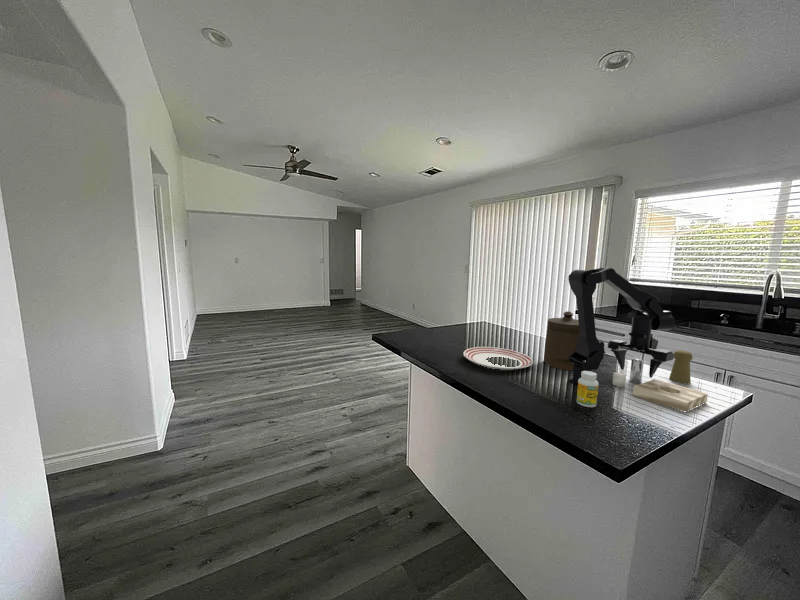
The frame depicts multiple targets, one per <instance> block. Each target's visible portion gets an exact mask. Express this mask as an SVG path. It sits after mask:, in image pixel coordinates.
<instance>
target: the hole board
mask: <svg viewBox="0 0 800 600" xmlns="http://www.w3.org/2000/svg"><path fill="white" fill-rule="evenodd" d="M632 396H634V397H638V398H640V399H643V400H646V401H648V402H649V401H650V402H653V403H655V404H659V405H661V406H664V407H667V408H670V407H673V408H676V409H679V410H682V411H688V410H690V409H692V408H694V407H696V406H699V405H701V404H703V403H706V402H707V401H708V396H709V393H706V392H704V391H703V392H702V391H699V390H696V389H693V388H689V387H685V386H682V385H677V384H674V383H671V382H667V381H664V380H660V379H658V378H655V379H651V380H649V381H648V380H647V381H645V382H641V383H640V384H638V383H637V384H635V385H633V388H632ZM706 404H707V403H706ZM699 407H700V406H699ZM673 408H672V409H673ZM676 409H675V410H676ZM679 410H678V411H679ZM682 411H681V412H682Z"/></svg>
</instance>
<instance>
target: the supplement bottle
mask: <svg viewBox="0 0 800 600" xmlns="http://www.w3.org/2000/svg"><path fill="white" fill-rule="evenodd" d="M597 376H598V374H597V373H596V372H594V371H593V372H591V371H582V372H581V377H582V378H580V379H579V380H578V385H577V390H576V391H577V392H576V403H577V404H578V405H579V406H580V405H581V406H582V407H586V408H596V407H597V403H598V396H599V381H598V380H597V378H598V377H597Z"/></svg>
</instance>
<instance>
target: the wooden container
mask: <svg viewBox="0 0 800 600" xmlns="http://www.w3.org/2000/svg"><path fill="white" fill-rule="evenodd" d="M573 317H574V314H573V312H571V311H565V312H563V317H552V318H547V319H548V320H547V328H546V337H545V344H544V356H543V357H544V358H543V363H544V362H545V363H546V364H547V365H546V364H545V363H544V364H545V365H546V366H548V365H549V366H548V367H550V368H553V367H554V369H557V368H558V370H562V369H563V370H564V371H571V370H573V366H574V364H573V363H571V362H570V361H569V356H570V355H571V354H572V353H573V352H574V351H575V350H576V346H577V342H578V340H579V338H580V331H579V321H578V319H575V318H573ZM583 361H584V362H585V360H583Z"/></svg>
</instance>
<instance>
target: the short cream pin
mask: <svg viewBox="0 0 800 600" xmlns="http://www.w3.org/2000/svg"><path fill="white" fill-rule="evenodd" d="M625 383H626V374H625V373H623V372H619V371H617V372H616V371H615V372H613V375H612V384H611V385H613V386H615V387H617V388H618V387H619V388H624V387H625V385H626V384H625Z"/></svg>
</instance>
